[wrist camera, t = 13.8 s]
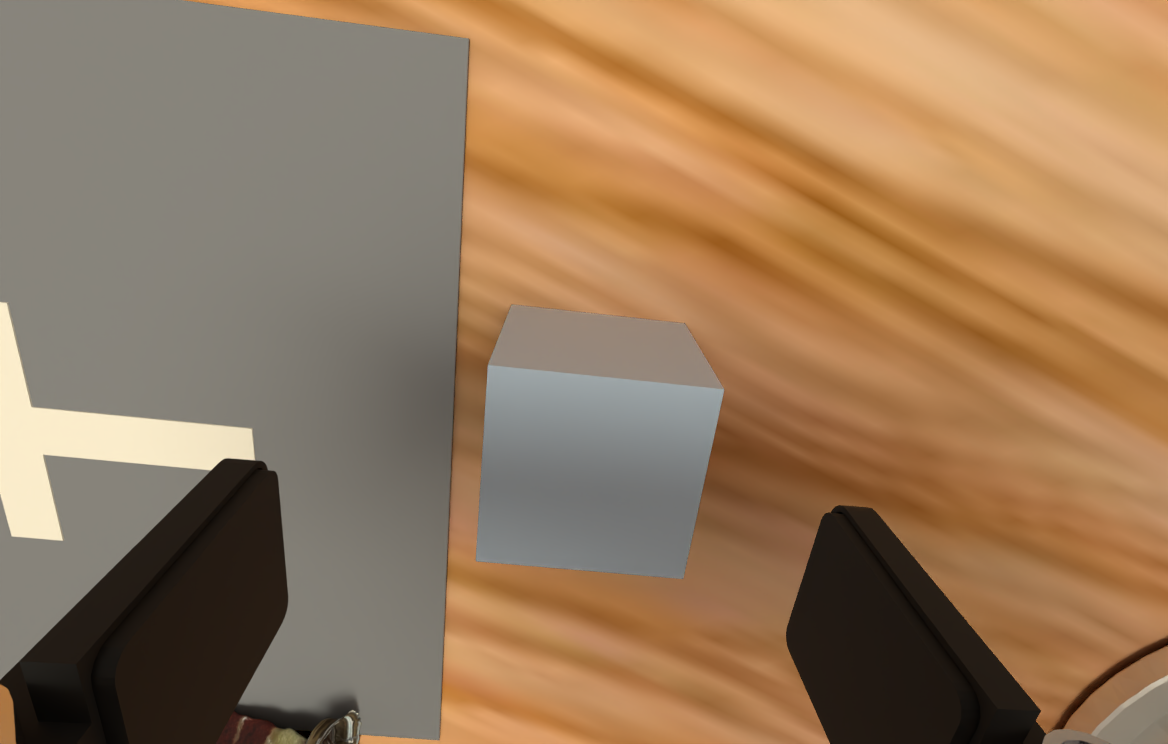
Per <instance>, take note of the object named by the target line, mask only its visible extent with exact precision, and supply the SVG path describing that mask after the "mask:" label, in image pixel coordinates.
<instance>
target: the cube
mask: <svg viewBox="0 0 1168 744" xmlns="http://www.w3.org/2000/svg"><path fill="white" fill-rule="evenodd" d="M723 394H724V388H723V386H722V385H721V383H720V381H719V380H718V378H717V376H716V374H715V373H714V371H713V369H712V368H711V366H710V364H709V363H708V361H707V359H706V358H705V356H704V354H703V353H702V351H701V349H700V348H699V346H698V344H697V343H696V341H695V339H694V338H693V336H692V334H691V333H690V331H689V329H688V328H687V326H686V324H685V323H677V322H668V321H659V320H650V319H641V318H631V317H622V316H613V315H604V314H595V313H586V312H577V311H567V310H558V309H549V308H540V307H531V306H522V305H513V304H512V305H511V307H510V310H509V312H508V315H507V317H506V320H505V322H504V325H503V328H502V330H501V333H500V335H499V338H498V340H497V343H496V345H495V348H494V351H493V353H492V356H491V358H490V361H489V363H488V371H487V387H486V403H485V419H484V435H483V451H482V467H481V484H480V500H479V516H478V532H477V548H476V561H478V562H490V563H501V564H513V565H525V566H537V567H548V568H560V569H572V570H583V571H595V572H607V573H618V574H630V575H642V576H653V577H665V578H677V579H683V578H684V573H685V569H686V564H687V559H688V555H689V550H690V546H691V541H692V536H693V532H694V527H695V522H696V518H697V513H698V509H699V504H700V499H701V495H702V490H703V486H704V481H705V476H706V472H707V467H708V463H709V458H710V453H711V449H712V444H713V440H714V435H715V430H716V426H717V421H718V417H719V412H720V407H721V403H722V398H723Z"/></svg>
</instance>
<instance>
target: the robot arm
mask: <svg viewBox="0 0 1168 744" xmlns="http://www.w3.org/2000/svg"><path fill="white" fill-rule="evenodd" d="M287 608H288V587H287V575H286V564H285V552H284V540H283V529H282V517H281V505H280V494H279V482H278V475H277V473H276V472H275V471H271V470H268V468H267V465H266V464H265V462H263V461H257V460H244V459H232V458H226V459H223V460H222V461H220V462H219V463H218V464H217V465H216V466H215V467H214V468H213V469H212V470H211V471H210V472H209V473H208V474H207V475H206V476H205V477H204V478H203V479H202V480H201V481H200V482H199V483H198V484H197V485H196V486H195V487H194V488H193V489H192V490H191V491H190V492H189V493H188V494H187V495H186V496H185V497H184V498H183V499H182V500H181V501H180V502H179V503H178V504H177V505H176V506H175V507H174V508H173V509H172V510H171V511H170V512H169V513H168V514H167V515H166V516H165V517H164V518H163V519H162V520H161V521H160V522H159V523H158V524H157V525H156V526H155V527H154V528H153V529H152V530H151V531H150V532H149V533H148V534H147V535H146V536H145V537H144V538H143V539H142V540H141V541H140V542H139V543H138V544H137V545H135V546H134V547H133V548H132V549H131V550H130V551H129V552H128V553H127V554H126V555H125V556H124V557H123V558H122V559H121V560H120V561H119V562H118V563H117V564H116V565H115V566H114V567H113V568H112V569H111V570H110V571H109V572H108V573H107V574H106V575H105V576H104V577H103V578H102V579H101V580H100V581H99V582H98V583H97V584H96V585H95V586H94V587H93V588H92V589H91V590H90V591H89V592H88V593H87V594H86V595H85V596H84V597H83V598H82V599H81V600H80V601H79V602H78V603H77V604H76V605H75V606H74V607H73V608H72V609H71V610H70V611H69V612H68V613H67V614H66V615H65V616H64V617H63V618H62V619H61V620H60V621H59V622H58V623H57V624H56V625H55V626H54V627H53V628H52V629H51V630H50V631H49V632H48V633H47V634H46V635H45V636H44V637H43V638H42V639H41V640H40V641H39V642H38V643H37V644H36V645H35V646H34V647H33V648H32V649H31V650H30V651H29V652H28V653H27V654H26V655H25V656H24V657H23V658H22V659H21V660H20V661H19V662H18V663H17V664H16V665H15V666H14V667H13V668H12V669H11V670H10V671H9V672H8V673H7V674H6V675H5V676H4V677H3V678H2V679H1V680H0V744H216V742H217V740H218V739H219V737H220V735H221V733H222V731H223V729H224V728H225V726H226V724H227V722H228V720H229V719H230V717H231V715H232V713H233V711H234V710H235V708H236V706H237V704H238V702H239V701H240V699H241V697H242V695H243V693H244V691H245V690H246V688H247V686H248V684H249V682H250V681H251V679H252V677H253V675H254V673H255V672H256V670H257V668H258V666H259V664H260V663H261V661H262V659H263V657H264V655H265V654H266V652H267V650H268V648H269V646H270V644H271V643H272V641H273V639H274V637H275V635H276V634H277V632H278V630H279V628H280V626H281V625H282V623H283V620H284V618H285V615H286V612H287ZM786 639H787V646H788V649H789V652H790V654H791V656H792V659H793V661H794V663H795V665H796V668H797V670H798V672H799V674H800V677H801V679H802V681H803V683H804V686H805V688H806V690H807V692H808V695H809V697H810V699H811V701H812V704H813V706H814V708H815V710H816V713H817V715H818V717H819V719H820V722H821V724H822V726H823V728H824V731H825V733H826V735H827V737H828V740H829V742H830V744H1168V645H1167V646H1165V647H1163V648H1161V649H1159V650H1157V651H1154V652H1152V653H1150V654H1148V655H1146V656H1144V657H1142V658H1141V659H1139V660H1138V661H1136V662H1134V663H1133V664H1131V665H1129V666H1128V667H1126V668H1125V669H1123V670H1121V671H1120V672H1118V673H1117V674H1115V675H1114V676H1113V677H1111V678H1110V679H1109V680H1108V681H1107V682H1105V683H1104V684H1103V685H1102V686H1100V687H1099V688H1098V689H1097V690H1096V691H1094V692H1093V693H1092V694H1091V695H1090V696H1089V697H1088V698H1087V699H1086V700H1085V701H1084V702H1083V703H1082V705H1081V706H1080V707H1079V708H1078V709H1077V710H1076V711H1075V712H1074V713H1073V714H1072V715H1071V717H1070V718H1069V720H1068V722H1067V723H1066V725H1065V726H1064V728H1063V729H1059V730H1053V731H1052V732H1050V733H1048V734H1047V735H1046V733H1045V732H1044V731H1043V730H1042V728H1041V727H1040V726H1039V725H1038V723H1037V722H1036V719H1037V717H1038V715H1039V714H1040V712H1041V710H1040V709H1039V708H1038V707H1037V706H1036V704H1035V703H1034V702H1033V701H1032V700H1031V698H1030V697H1029V696H1028V695H1027V694H1026V692H1025V691H1024V690H1023V689H1022V687H1021V686H1020V685H1019V684H1018V683H1017V681H1016V680H1015V679H1014V678H1013V677H1012V675H1011V674H1010V673H1009V672H1008V671H1007V669H1006V668H1005V667H1004V666H1003V665H1002V663H1001V662H1000V661H999V660H998V659H997V657H996V656H995V655H994V654H993V653H992V651H991V650H990V649H989V648H988V646H987V645H986V644H985V643H984V642H983V640H982V639H981V638H980V637H979V636H978V634H977V633H976V632H975V631H974V630H973V628H972V627H971V626H970V625H969V624H968V622H967V621H966V620H965V619H964V618H963V616H962V615H961V614H960V613H959V612H958V610H957V609H956V608H955V607H954V605H953V604H952V603H951V602H950V601H949V599H948V598H947V597H946V596H945V595H944V593H943V592H942V591H941V590H940V589H939V587H938V586H937V585H936V584H935V583H934V581H933V580H932V579H931V578H930V577H929V575H928V574H927V573H926V572H925V571H924V569H923V568H922V567H921V566H920V564H919V563H918V562H917V561H916V560H915V558H914V557H913V556H912V555H911V554H910V552H909V551H908V550H907V549H906V548H905V546H904V545H903V544H902V543H901V542H900V540H899V539H898V538H897V537H896V536H895V534H894V533H893V532H892V531H891V530H890V528H889V527H888V526H887V525H886V523H885V522H884V521H883V520H882V519H881V517H880V516H879V515H878V514H877V513H876V512H875V511H874V510H873V509H871V508H867V507H854V506H841V505H839V506H836V507H835V508H834V509H833V510H832V512H831V513H826V514H825V515H824V516H823V518H822V520H821V523H820V526H819V529H818V532H817V535H816V538H815V541H814V545H813V548H812V551H811V554H810V557H809V560H808V563H807V567H806V570H805V573H804V576H803V579H802V582H801V585H800V588H799V592H798V595H797V598H796V601H795V604H794V607H793V610H792V613H791V617H790V620H789V623H788V626H787V631H786Z"/></svg>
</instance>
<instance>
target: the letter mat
mask: <svg viewBox="0 0 1168 744" xmlns="http://www.w3.org/2000/svg"><path fill="white" fill-rule="evenodd" d="M468 60H469V39H468V38H460V37H453V36H445V35H438V34H430V33H423V32H415V31H408V30H400V29H393V28H385V27H378V26H370V25H363V24H355V23H348V22H340V21H333V20H325V19H318V18H310V17H303V16H295V15H288V14H280V13H273V12H265V11H258V10H250V9H243V8H235V7H228V6H220V5H213V4H205V3H198V2H191V1H183V0H0V680H1V679H2V678H3V677H4V676H5V675H6V674H7V673H8V672H9V671H10V670H11V669H12V668H13V667H14V666H15V665H16V664H17V663H18V662H19V661H20V660H21V659H22V658H23V657H24V656H25V655H26V654H27V653H28V652H29V651H30V650H31V649H32V648H33V647H34V646H35V645H36V644H37V643H38V642H39V641H40V640H41V639H42V638H43V637H44V636H45V635H46V634H47V633H48V632H49V631H50V630H51V629H52V628H53V627H54V626H55V625H56V624H57V623H58V622H59V621H60V620H61V619H62V618H63V617H64V616H65V615H66V614H67V613H68V612H69V611H70V610H71V609H72V608H73V607H74V606H75V605H76V604H77V603H78V602H79V601H80V600H81V599H82V598H83V597H84V596H85V595H86V594H87V593H88V592H89V591H90V590H91V589H92V588H93V587H94V586H95V585H96V584H97V583H98V582H99V581H100V580H101V579H102V578H103V577H104V576H105V575H106V574H107V573H108V572H109V571H110V570H111V569H112V568H113V567H114V566H115V565H116V564H117V563H118V562H119V561H120V560H121V559H122V558H123V557H124V556H125V555H126V554H127V553H128V552H129V551H130V550H131V549H132V548H133V547H134V546H135V545H137V544H138V543H139V542H140V541H141V540H142V539H143V538H144V537H145V536H146V535H147V534H148V533H149V532H150V531H151V530H152V529H153V528H154V527H155V526H156V525H157V524H158V523H159V522H160V521H161V520H162V519H163V518H164V517H165V516H166V515H167V514H168V513H169V512H170V511H171V510H172V509H173V508H174V507H175V506H176V505H177V504H178V503H179V502H180V501H181V500H182V499H183V498H184V497H185V496H186V495H187V494H188V493H189V492H190V491H191V490H192V489H193V488H194V487H195V486H196V485H197V484H198V483H199V482H200V481H201V480H202V479H203V478H204V477H205V476H206V475H207V474H208V473H209V472H210V471H211V470H212V469H213V468H214V467H215V466H216V465H217V464H218V463H219V462H220V461H222V460H223V459H226V458H232V459H244V460H257V461H263V462H265V464H266V465H267V468H268V470H271V471H275V472H276V473H277V475H278V482H279V494H280V505H281V517H282V529H283V540H284V552H285V564H286V575H287V587H288V608H287V612H286V615H285V618H284V620H283V623H282V625H281V626H280V628H279V630H278V632H277V634H276V635H275V637H274V639H273V641H272V643H271V644H270V646H269V648H268V650H267V652H266V654H265V655H264V657H263V659H262V661H261V663H260V664H259V666H258V668H257V670H256V672H255V673H254V675H253V677H252V679H251V681H250V682H249V684H248V686H247V688H246V690H245V691H244V693H243V695H242V697H241V699H240V701H239V702H238V704H237V706H236V708H235V710H234V711H235V712H237V713H238V714H241V715H247V716H249V717H251V718H253V719H262V720H268V721H270V722H272V723H273V724H274V725H275V726H276V727H278V728H282V729H286V728H291V729H293V730H303V731H313V729H314V728H315V727H316V726H317V725H318V724H319V723H320V722H321V721H322V720H325V719H326V718H333V719H338V718H342V717H344V716H345V715H346V714H348V713H349V712H351V711H352V710H354V711H355V713H358V715H357V717H359V718H358V719H360V718H361V719H360V722H361V726H360V730H359V735H373V736H386V737H400V738H414V739H428V740H439V739H440V718H441V695H442V671H443V648H444V624H445V601H446V577H447V554H448V530H449V507H450V483H451V460H452V436H453V413H454V389H455V366H456V342H457V319H458V295H459V272H460V248H461V225H462V201H463V178H464V154H465V131H466V107H467V84H468Z"/></svg>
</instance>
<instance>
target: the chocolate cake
mask: <svg viewBox="0 0 1168 744" xmlns="http://www.w3.org/2000/svg"><path fill="white" fill-rule="evenodd" d="M357 715H358V713H355V711H354V710H352V711H351V712H349V713H348V714H346V715H345V716H344V717H342V718H338V719H333V718H326V719H325V720H322V721H321V722H320V723H319V724H318V725H317V726H316V727H315V728H314V729H313V731H312V732H311V734H310V736H309V738H308V739H306V738H305V737H303V736H302V735H300V734H299V733H297V732H296V731H295V730H293V729H291V728H286V729H282V728H278V727H276V726H275V725H274V724H273V723H272V722H270V721H268V720H262V719H253V718H251V717H249V716H247V715H241V714H238V713H237V712H235V711H233V713H232V715H231V717H230V719H229V720H228V722H227V724H226V726H225V728H224V729H223V731H222V733H221V735H220V737H219V739H218V740H217V742H216V744H358V741H359V730H360V726H361V722H360V719H361V718H360V719H358V718H359V717H357Z"/></svg>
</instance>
